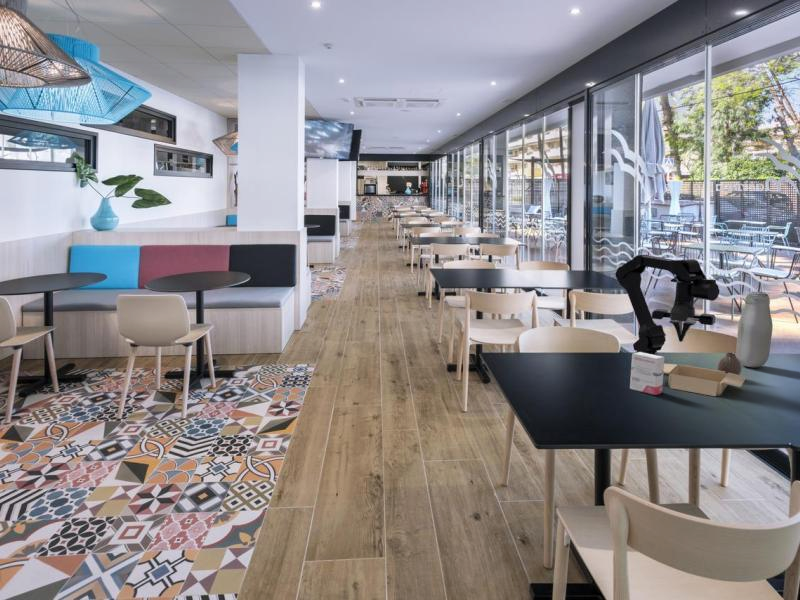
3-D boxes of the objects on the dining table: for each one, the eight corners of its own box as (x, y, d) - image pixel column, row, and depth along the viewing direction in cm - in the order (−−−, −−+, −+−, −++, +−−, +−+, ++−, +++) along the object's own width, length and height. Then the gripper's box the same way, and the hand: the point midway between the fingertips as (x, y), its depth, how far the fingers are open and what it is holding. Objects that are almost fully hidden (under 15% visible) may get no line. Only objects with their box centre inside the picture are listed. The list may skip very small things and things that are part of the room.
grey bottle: (748, 362, 208) (755, 289, 204) (773, 369, 199) (782, 293, 194) (728, 364, 205) (735, 290, 201) (753, 371, 196) (761, 294, 191)
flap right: (722, 381, 170) (740, 385, 167) (728, 372, 179) (746, 376, 176) (722, 382, 170) (740, 387, 167) (728, 373, 179) (745, 378, 176)
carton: (666, 387, 178) (667, 374, 177) (678, 375, 191) (679, 363, 190) (719, 397, 168) (720, 383, 168) (728, 384, 182) (729, 371, 181)
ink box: (663, 392, 173) (666, 356, 171) (655, 395, 170) (658, 358, 168) (636, 385, 180) (639, 350, 178) (629, 388, 177) (631, 353, 175)
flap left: (677, 364, 188) (662, 363, 191) (669, 372, 179) (653, 370, 182) (677, 365, 188) (662, 364, 191) (669, 373, 179) (653, 372, 182)
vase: (743, 381, 184) (746, 356, 183) (721, 380, 186) (723, 355, 184) (735, 375, 191) (737, 351, 189) (713, 374, 192) (716, 350, 191)
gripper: (649, 296, 185) (645, 341, 187) (711, 302, 173) (707, 350, 176) (657, 292, 193) (654, 336, 196) (717, 298, 182) (713, 343, 184)
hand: (680, 341), depth 188 cm, fingers closed
